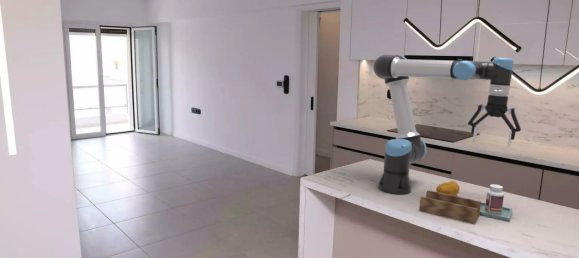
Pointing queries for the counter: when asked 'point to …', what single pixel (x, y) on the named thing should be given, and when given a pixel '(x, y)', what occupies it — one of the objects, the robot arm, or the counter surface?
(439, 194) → the wooden shelf
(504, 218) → the tray
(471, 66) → the robot arm
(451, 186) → the potato
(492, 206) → the pill bottle
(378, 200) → the counter surface
